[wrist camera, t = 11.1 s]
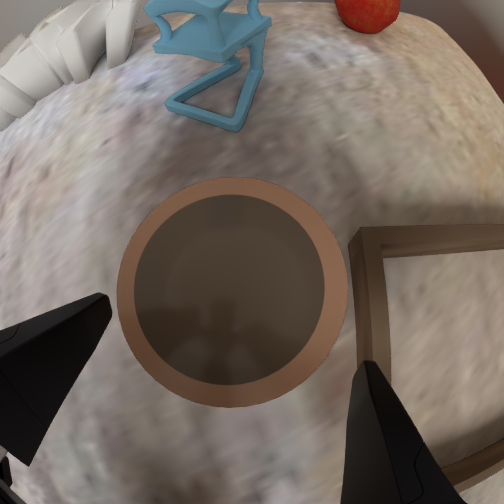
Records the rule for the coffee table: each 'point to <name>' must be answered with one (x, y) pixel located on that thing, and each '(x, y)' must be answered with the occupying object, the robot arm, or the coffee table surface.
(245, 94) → the chair
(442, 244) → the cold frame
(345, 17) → the apple
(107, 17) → the white wavy slab sculpture
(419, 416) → the coffee table surface
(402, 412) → the robot arm
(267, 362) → the terracotta pot
